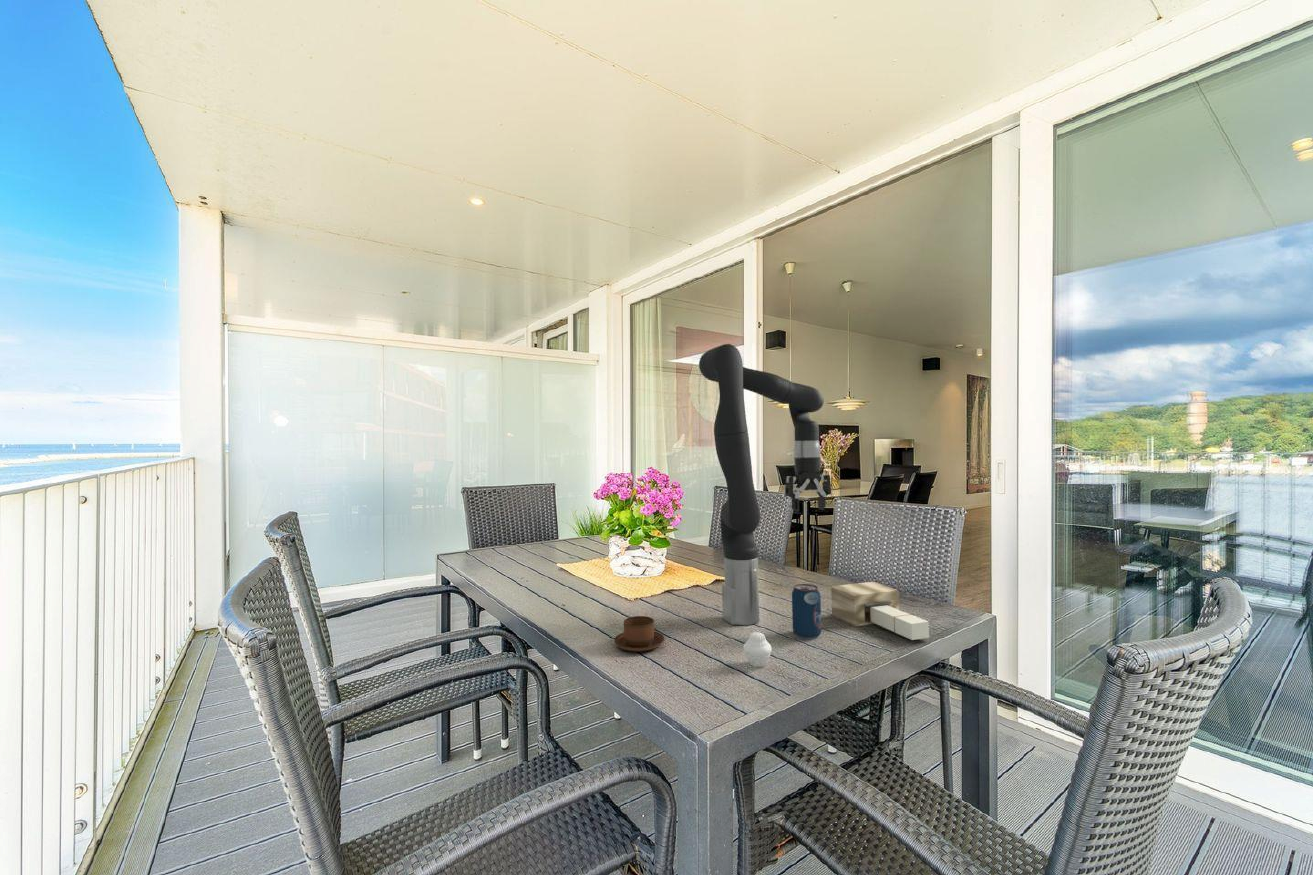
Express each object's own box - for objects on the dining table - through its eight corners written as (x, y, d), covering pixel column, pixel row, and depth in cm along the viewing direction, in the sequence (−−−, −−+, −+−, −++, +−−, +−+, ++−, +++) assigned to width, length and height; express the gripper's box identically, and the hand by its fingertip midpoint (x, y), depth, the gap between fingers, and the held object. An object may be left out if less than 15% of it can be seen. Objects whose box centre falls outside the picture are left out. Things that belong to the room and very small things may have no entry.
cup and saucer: (608, 642, 131) (607, 617, 131) (652, 634, 136) (652, 610, 136) (624, 659, 120) (623, 632, 120) (672, 650, 125) (671, 624, 125)
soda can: (823, 640, 129) (821, 590, 129) (793, 639, 130) (792, 589, 130) (820, 630, 136) (818, 583, 136) (792, 629, 137) (790, 582, 137)
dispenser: (857, 627, 137) (856, 596, 138) (831, 615, 148) (831, 586, 148) (901, 621, 141) (900, 590, 142) (873, 609, 152) (873, 581, 152)
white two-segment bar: (912, 640, 125) (911, 623, 125) (870, 621, 139) (870, 606, 139) (929, 637, 127) (928, 621, 127) (886, 619, 141) (886, 604, 141)
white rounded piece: (753, 672, 112) (753, 638, 112) (738, 661, 117) (737, 629, 117) (778, 666, 114) (777, 634, 114) (761, 656, 120) (760, 625, 120)
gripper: (820, 455, 164) (822, 507, 164) (779, 456, 160) (781, 510, 159) (835, 455, 157) (837, 510, 156) (793, 456, 153) (794, 513, 152)
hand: (808, 510), depth 158 cm, fingers open, 8 cm apart
